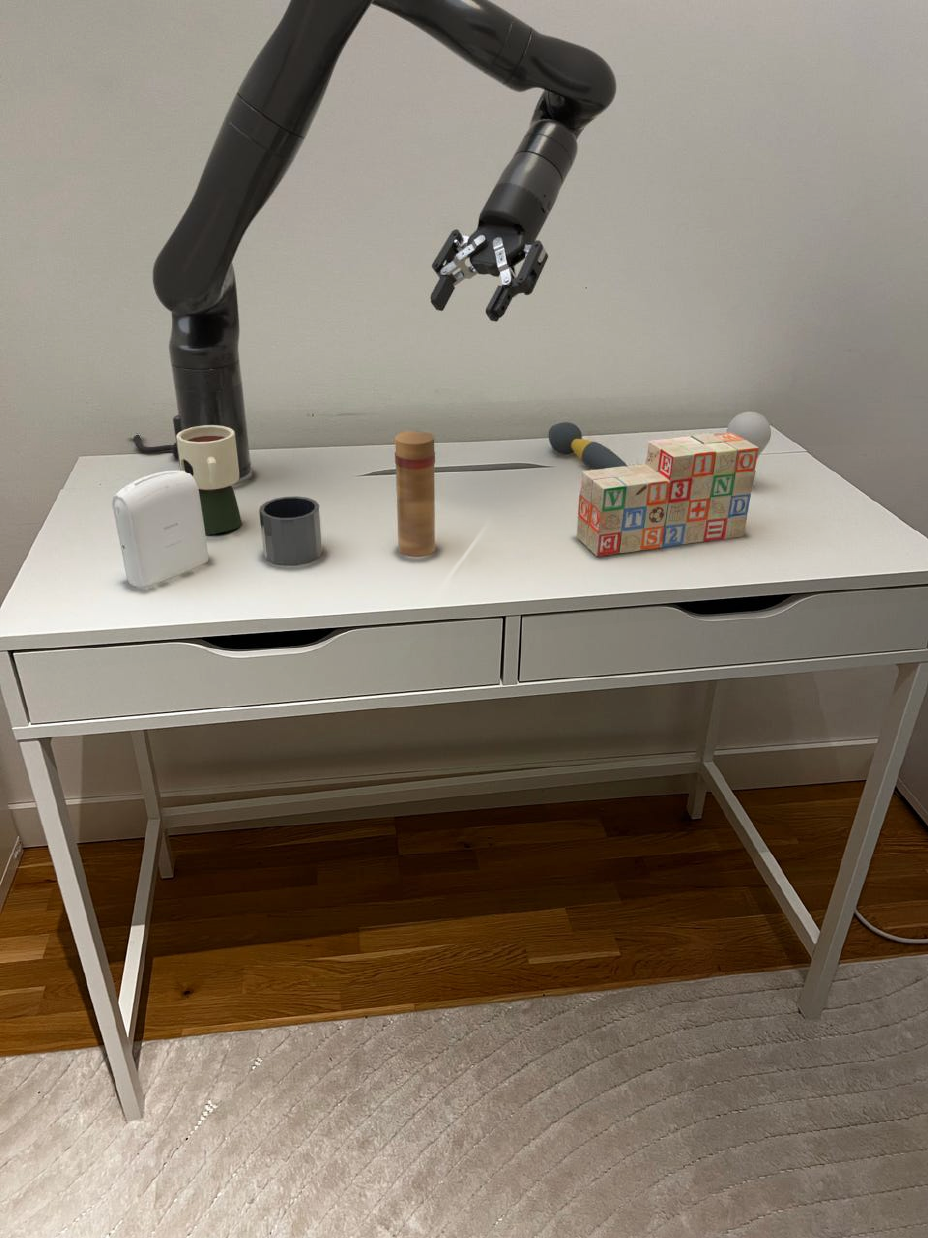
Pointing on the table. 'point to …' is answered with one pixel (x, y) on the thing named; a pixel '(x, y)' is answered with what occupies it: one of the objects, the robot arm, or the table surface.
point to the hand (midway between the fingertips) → (462, 311)
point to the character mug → (212, 473)
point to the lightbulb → (751, 429)
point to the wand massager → (582, 447)
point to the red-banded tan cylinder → (415, 493)
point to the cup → (291, 530)
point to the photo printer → (160, 527)
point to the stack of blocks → (669, 495)
